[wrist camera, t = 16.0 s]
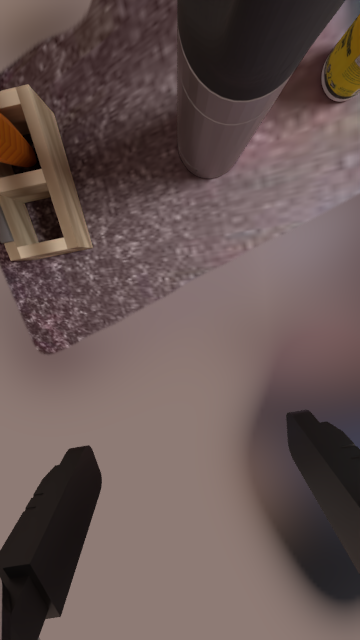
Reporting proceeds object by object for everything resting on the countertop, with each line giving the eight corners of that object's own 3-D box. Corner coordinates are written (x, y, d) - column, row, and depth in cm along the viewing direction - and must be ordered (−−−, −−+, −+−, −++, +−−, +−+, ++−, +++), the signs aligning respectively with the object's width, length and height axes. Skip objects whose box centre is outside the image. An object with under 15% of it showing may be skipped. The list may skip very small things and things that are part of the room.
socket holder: (54, 114, 30) (25, 81, 24) (93, 247, 35) (76, 246, 29) (-13, 129, 31) (-57, 100, 25) (35, 259, 36) (8, 260, 30)
